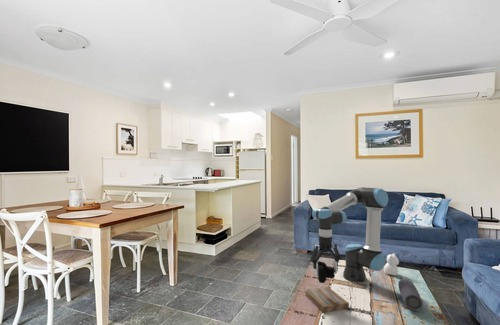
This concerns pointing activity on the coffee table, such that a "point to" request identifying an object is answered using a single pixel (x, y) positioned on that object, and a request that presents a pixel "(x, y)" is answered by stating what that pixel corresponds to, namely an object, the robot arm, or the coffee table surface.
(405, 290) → the bluetooth speaker
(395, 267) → the cat figurine
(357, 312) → the coffee table surface
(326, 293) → the wooden pallet
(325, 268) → the film camera
